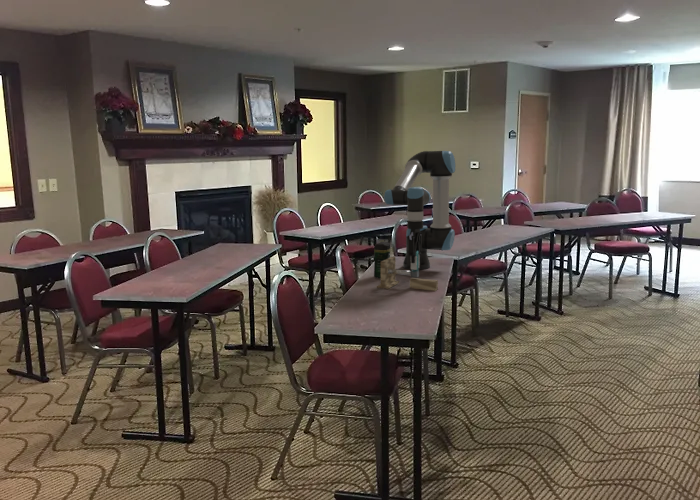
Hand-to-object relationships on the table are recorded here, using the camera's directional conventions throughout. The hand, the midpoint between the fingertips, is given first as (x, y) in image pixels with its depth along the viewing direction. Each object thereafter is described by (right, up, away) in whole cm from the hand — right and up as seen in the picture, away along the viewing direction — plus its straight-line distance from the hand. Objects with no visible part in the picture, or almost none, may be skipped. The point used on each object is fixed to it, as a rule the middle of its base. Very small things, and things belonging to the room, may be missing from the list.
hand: (415, 268), depth 280 cm
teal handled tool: (-6, -4, +4) cm, 9 cm away
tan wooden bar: (+4, -10, 0) cm, 11 cm away
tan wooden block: (-12, -8, +8) cm, 17 cm away
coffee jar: (-14, -5, +26) cm, 30 cm away
